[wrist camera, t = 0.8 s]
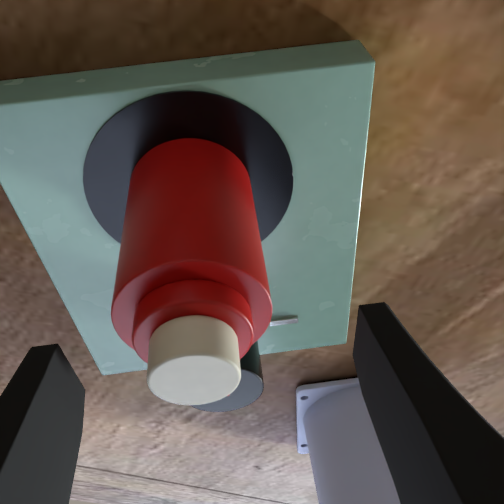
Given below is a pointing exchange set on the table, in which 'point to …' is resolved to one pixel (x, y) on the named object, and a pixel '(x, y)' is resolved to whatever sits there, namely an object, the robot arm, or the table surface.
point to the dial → (241, 385)
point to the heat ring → (177, 127)
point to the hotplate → (274, 246)
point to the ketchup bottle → (191, 271)
